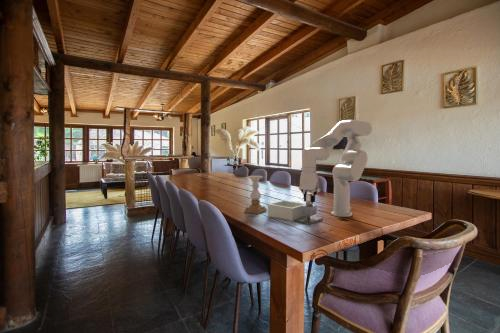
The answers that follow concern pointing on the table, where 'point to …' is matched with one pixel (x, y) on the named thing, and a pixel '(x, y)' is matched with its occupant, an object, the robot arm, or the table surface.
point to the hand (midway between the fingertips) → (309, 201)
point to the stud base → (308, 220)
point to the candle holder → (255, 197)
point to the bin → (285, 210)
